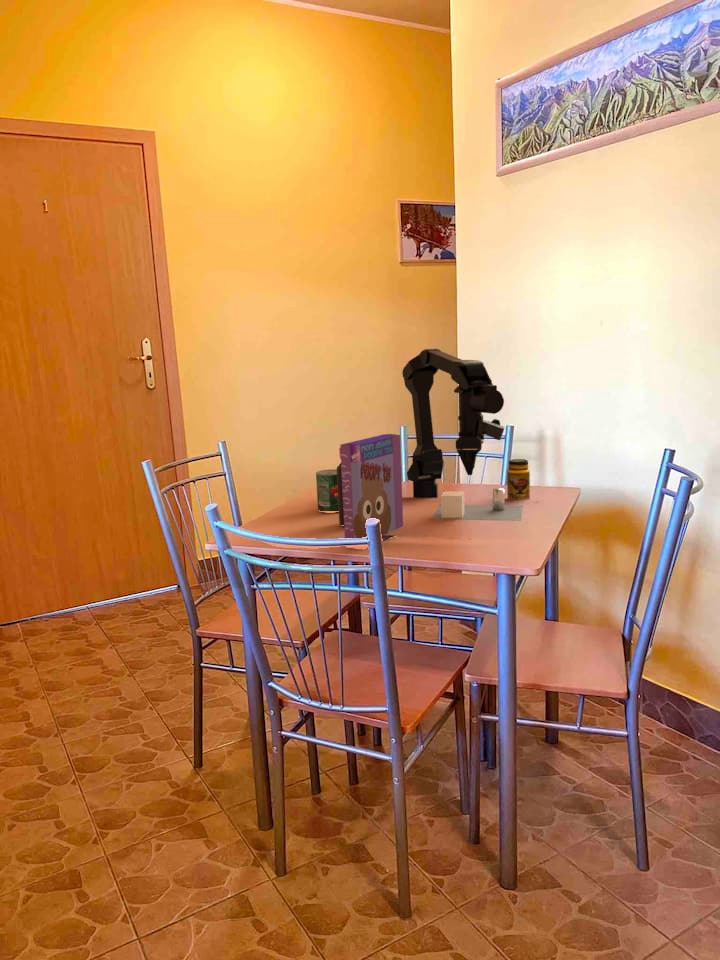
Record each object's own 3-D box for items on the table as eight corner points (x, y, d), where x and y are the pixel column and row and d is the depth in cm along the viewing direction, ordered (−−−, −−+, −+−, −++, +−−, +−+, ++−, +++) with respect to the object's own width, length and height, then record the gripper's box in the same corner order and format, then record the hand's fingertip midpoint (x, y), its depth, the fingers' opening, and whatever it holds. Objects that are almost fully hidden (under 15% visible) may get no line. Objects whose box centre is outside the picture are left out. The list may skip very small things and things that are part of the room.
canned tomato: (320, 507, 203) (318, 469, 201) (347, 506, 202) (345, 468, 200) (315, 514, 195) (313, 474, 193) (344, 513, 194) (342, 474, 192)
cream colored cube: (441, 517, 179) (441, 495, 178) (444, 512, 184) (443, 491, 183) (462, 517, 178) (461, 496, 177) (464, 513, 183) (464, 491, 182)
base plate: (431, 524, 179) (431, 518, 178) (440, 509, 194) (440, 504, 194) (520, 526, 173) (520, 520, 173) (522, 511, 188) (522, 505, 188)
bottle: (369, 521, 184) (365, 445, 180) (361, 528, 178) (358, 449, 174) (344, 521, 186) (340, 445, 182) (335, 527, 180) (331, 449, 176)
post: (492, 512, 184) (492, 490, 183) (493, 509, 187) (493, 487, 186) (504, 512, 183) (504, 490, 182) (504, 510, 186) (504, 487, 185)
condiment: (517, 506, 194) (517, 463, 192) (496, 501, 201) (496, 459, 199) (537, 502, 198) (537, 459, 195) (515, 497, 205) (515, 456, 202)
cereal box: (362, 550, 159) (357, 444, 154) (345, 547, 162) (340, 443, 157) (403, 532, 173) (400, 434, 168) (386, 529, 176) (383, 433, 171)
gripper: (501, 414, 169) (502, 478, 172) (503, 406, 187) (503, 465, 190) (454, 415, 172) (456, 478, 175) (460, 408, 190) (461, 465, 192)
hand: (471, 471), depth 183 cm, fingers open, 9 cm apart
